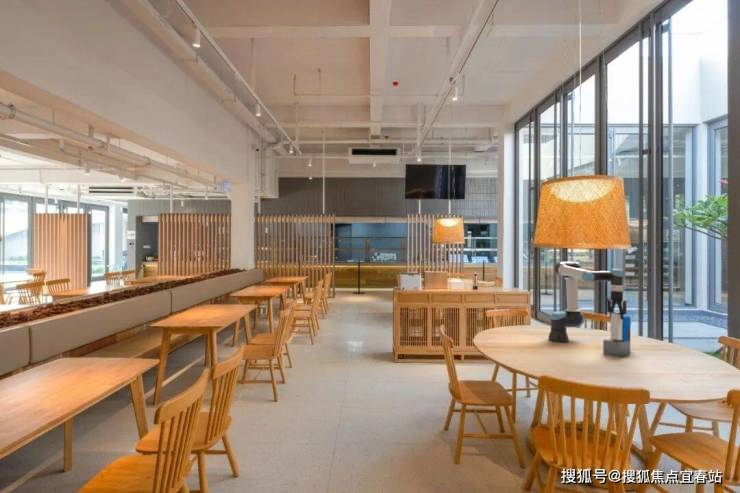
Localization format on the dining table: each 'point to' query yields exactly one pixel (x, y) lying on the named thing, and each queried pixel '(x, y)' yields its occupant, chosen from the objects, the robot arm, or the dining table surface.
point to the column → (616, 327)
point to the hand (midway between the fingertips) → (616, 322)
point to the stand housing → (616, 348)
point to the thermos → (626, 328)
